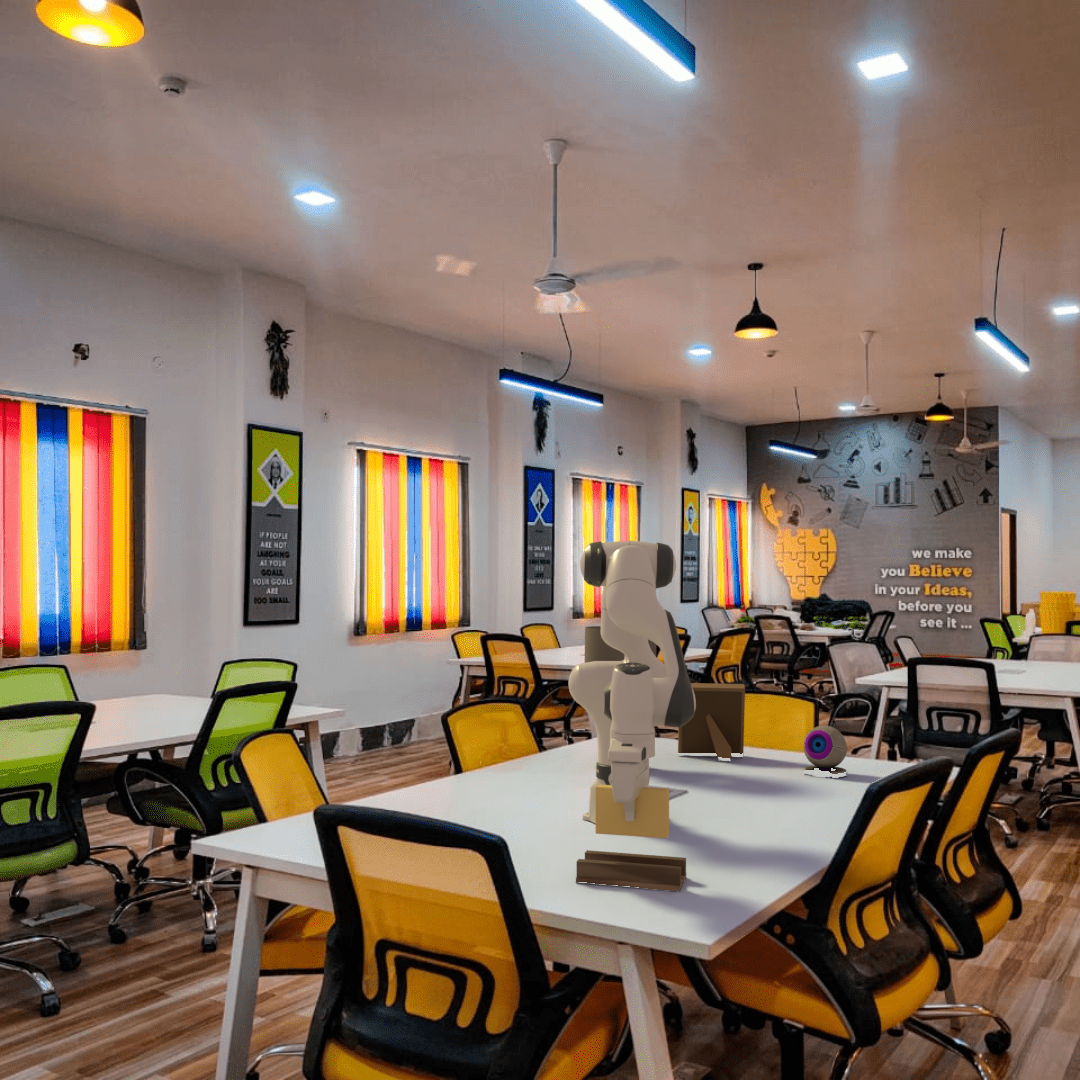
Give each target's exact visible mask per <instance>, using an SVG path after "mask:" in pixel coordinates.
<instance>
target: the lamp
mask: <svg viewBox="0 0 1080 1080" xmlns="http://www.w3.org/2000/svg"><path fill="white" fill-rule="evenodd" d="M600 631H601V625H600V626H599V625H594V626H591V625H590V626H585V628H584V663H587V662H592V661H623V660H624V658H625V655H624V654H623V653H622V652H620V651H618V650H616V649H614V648H612V647H611V646H609V645H608V644H606V643H605V642H604V641H603V639H602V637H601V633H600ZM648 643H649V646H650V648H651V650H652V652H653V654H654V655H655V656H656V657H657V644H655V643H654V642H652V641H650V640H648Z"/></svg>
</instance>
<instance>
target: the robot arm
mask: <svg viewBox="0 0 1080 1080" xmlns="http://www.w3.org/2000/svg"><path fill="white" fill-rule="evenodd" d="M579 567H580V572H581V575H582V577H583V581H584V582H585V583H587V585H590V586H593V587H597V588H600V587H602V595H601V609H600V612H601V613H600V626H601V631H600V633H601V637H602V639H603V641H604V642H605V643H606V644H608V645H609V646H611V647H612V648H614V649H616V650H618V651H620V652H622V653H623V654H624V655H625V658H624V660H623V661H592V662H587V663H585V662H582V663H579V664H576V665H575V666H574V667H573V668H572V669H571V672H570V674H569V677H568V681H567V682H568V689H569V690H568V691H569V693H570V695H571V697H572V699H573V700H574V702H576V703H577V704H579V705H580V706H581V707H582V708H583V709H584V710H585V711H586V712H587V714H588V715H589V717H590V718H591V720H592V722H593V724H594V727H595V731H596V738H597V739H596V741H597V756H598V757H597V760H598V761H597V762H596V764H595V765H596V766H595V777H596V780H595V781H594V782H593V783H592V784H591V785H590V786H589V787H590V788H589V800H588V801H589V802H588V803H589V805H588V806H589V807H588V812H585V813H583V815H582V820H585V821H589V822H591V823H593V824H596V787H597V786H598V785H599V784H600V785H612V792H613V798H614V801H615V802H616V803H623V806H624V810H625V820H626V821H634V819H635V799H636V798H637V797H638V796H639V795H640V789H641V788H642V787H649V784H650V761H649V759H651V758H654V757H655V756H656V728H655V726H664V727H671V728H677V729H678V728H681V727H682V726H684V725H685V724H686V723H688V722H689V721H690V720H691V719H692V718H693V717H694V713H695V708H696V700H695V694H694V691H693V689H692V686H691V683H692V682H691V680H690V677H689V674H688V669H687V666H686V661H685V658H684V653H683V650H682V645H681V641H680V636H679V632H678V630H677V629H678V628H677V626H676V623H675V620H674V617H673V615H672V613H671V612H670V611H669V610H666V609H664V607H663V606H662V605H661V603H660V602H659V600H658V597H657V589H660V588H665V587H667V586H668V585H669V584H671V583H672V581H673V578H674V576H675V573H676V570H677V560H676V557H675V554H674V551H673V549H672V547H671V546H670V545H668V544H666V543H662V542H655V543H654V542H653V543H652V542H647V541H641V540H640V541H639V540H628V541H626V540H625V541H621V540H620V541H607V542H602V541H594V542H590V543H588V544H587V545H586V546H585V547H584V551H582V554H581V557H580V560H579ZM648 640H650V641H652V642H654V643H655V644H656V646H658V647H659V649H660V650H661V651H660V652H661V653H662V654H661V655H662V658H663V662H664V663H663V662H662V661H661V660H659V659H658V657H657V655H656V656H655V655H654V654H653V652H652V650H651V648H650V646H649V643H648Z"/></svg>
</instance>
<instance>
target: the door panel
mask: <svg viewBox="0 0 1080 1080" xmlns="http://www.w3.org/2000/svg"><path fill="white" fill-rule="evenodd" d="M596 834H599V835H610V836H611V835H612V836H624V837H625V836H627V837H638V838H639V837H640V838H641V837H643V838H653V839H654V838H655V839H668V837H669V836H670V788H667V787H651V786H648V787H642V788H641V789H640V795H639V796H638V797H637V798H636V799H635V819H634V821H626V820H625V810H624V806H623V803H616V802H615V801H614V798H613V792H612V785H600V784H599V785H598V786H597V787H596V823H595V835H596Z"/></svg>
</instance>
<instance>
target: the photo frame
mask: <svg viewBox="0 0 1080 1080" xmlns="http://www.w3.org/2000/svg"><path fill="white" fill-rule="evenodd" d="M690 683H691V686H692V689H693V691H694V694H695V700H696V708H695V713H694V717H693V718H692V719H691V720H690V721H689V722H688V723H686V724H685V725H684V726H682V727H681V728H678V727H677V729H678V730H677V731H678V732H677V734H678V735H677V754H678V753H716V754H717V757H722V758H731V753H740V754H742V753H743V754H744V748H745V747H744V744H745V743H744V742H745V710H746V709H745V707H746V706H745V705H746V698H745V697H746V687H745V683H712V682H710V683H708V682H707V683H706V682H704V683H701V682H697V683H696V682H693V683H692V682H690ZM717 757H716V758H717ZM731 759H732V758H731Z"/></svg>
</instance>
